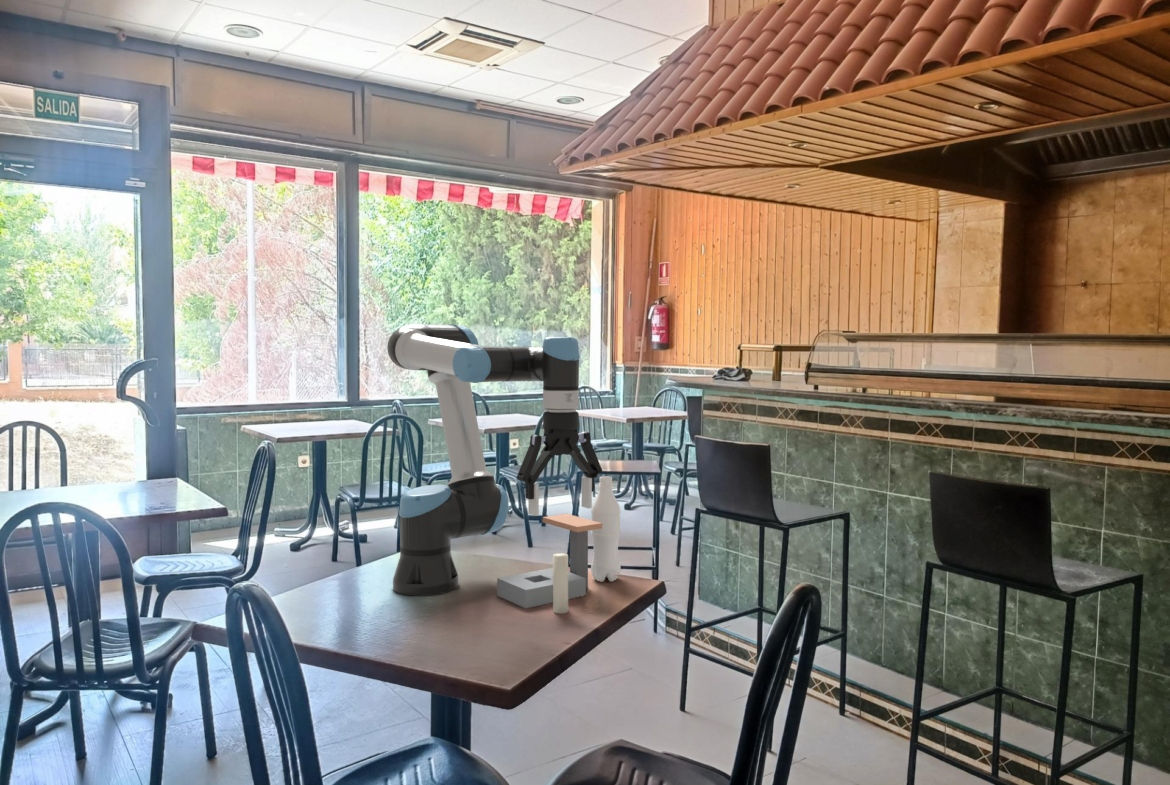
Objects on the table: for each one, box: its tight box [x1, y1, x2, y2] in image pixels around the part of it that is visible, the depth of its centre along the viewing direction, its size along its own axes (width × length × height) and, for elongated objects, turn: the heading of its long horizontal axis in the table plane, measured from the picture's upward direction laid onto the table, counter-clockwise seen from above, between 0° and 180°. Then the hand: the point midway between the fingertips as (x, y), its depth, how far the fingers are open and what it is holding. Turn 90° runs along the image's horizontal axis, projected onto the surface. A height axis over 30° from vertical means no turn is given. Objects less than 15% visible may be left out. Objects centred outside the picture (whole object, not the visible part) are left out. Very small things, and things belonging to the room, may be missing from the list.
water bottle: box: [590, 475, 621, 583], centre depth 197 cm, size 7×7×25 cm
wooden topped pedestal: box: [542, 513, 602, 589], centre depth 188 cm, size 14×7×16 cm, turn 36°
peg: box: [552, 553, 569, 614], centre depth 172 cm, size 3×3×12 cm
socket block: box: [496, 567, 587, 609], centre depth 184 cm, size 12×16×4 cm
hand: (560, 511), depth 171 cm, fingers open, 13 cm apart
